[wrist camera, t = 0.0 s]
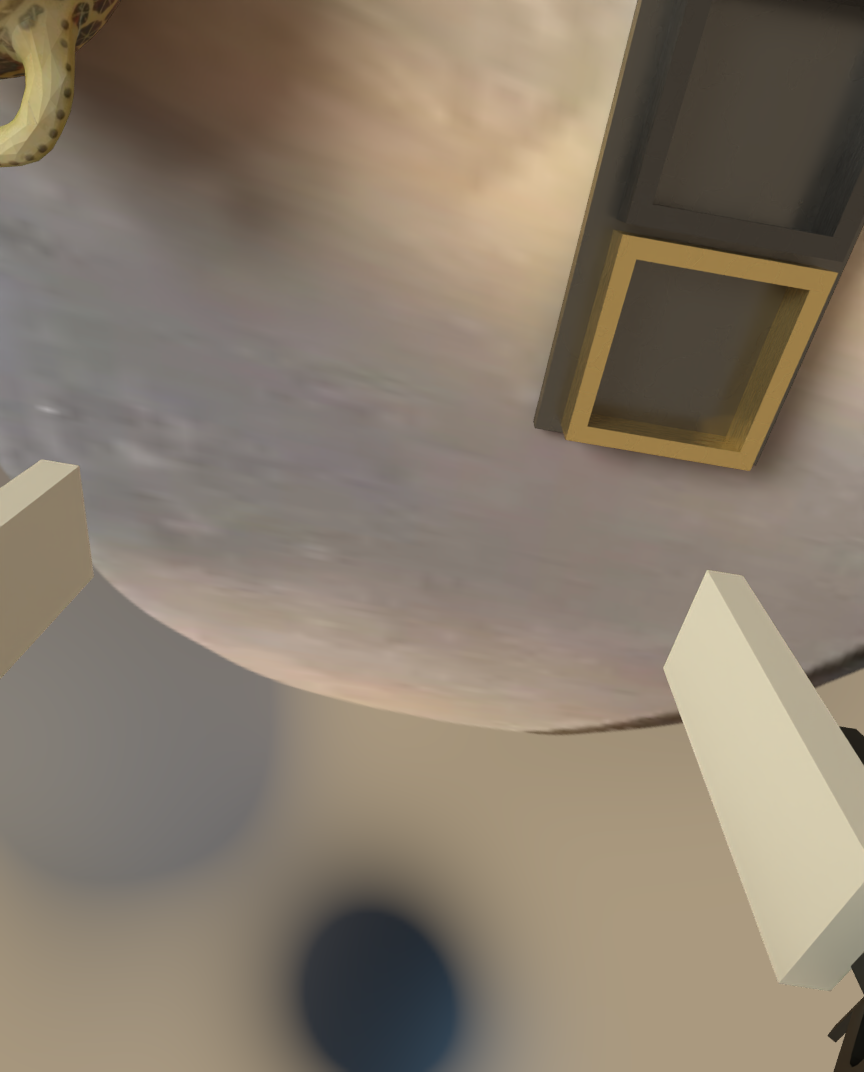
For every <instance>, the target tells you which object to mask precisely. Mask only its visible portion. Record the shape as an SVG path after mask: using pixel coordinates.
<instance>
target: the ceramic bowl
mask: <svg viewBox="0 0 864 1072" xmlns="http://www.w3.org/2000/svg"><path fill="white" fill-rule="evenodd" d="M119 2H120V0H0V79H7V78H15V77H20V76H25V82H26V88H25V91H24V95H23V99H22V103H21V107H20V109H19V111H18V113H17V115H16V117H15V118H14V120H12V121H11V122H10V123H9V124H6V125H4V126H1V127H0V167H12V166H23V165H26V164H29V163H33V162H36V161H39V160H40V159H42V158H43V157H44V156H45V155H46V154H48V153H49V152H50V151H51V150H52V149H53V147H54V146H55V144H56V142H57V140H58V139H59V137H60V135H61V133H62V131H63V129H64V126H65V124H66V122H67V119H68V117H69V115H70V112H71V106H72V101H73V96H74V75H75V52H76V51H78V50H79V49H80V48H81V47H82V46H83V45H84V44H86V43H87V42H88V41H89V40H90V39H91V38H92V37H93V36H94V35H95V34H96V33H97V32H98V31H99V30H100V29H101V28H102V26H103V25H104V24H105V23H106V22H107V20H108V19H109V18H110V16H111V15H112V13H113V12H114V10H115V9H116V7H117V5H118V4H119Z"/></svg>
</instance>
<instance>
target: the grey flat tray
mask: <svg viewBox="0 0 864 1072" xmlns="http://www.w3.org/2000/svg"><path fill="white" fill-rule="evenodd" d="M863 225H864V0H638V1H637V5H636V9H635V13H634V17H633V21H632V25H631V29H630V33H629V37H628V41H627V45H626V49H625V54H624V58H623V62H622V66H621V70H620V74H619V78H618V82H617V86H616V90H615V94H614V98H613V102H612V106H611V110H610V114H609V118H608V122H607V126H606V130H605V134H604V138H603V142H602V146H601V150H600V154H599V158H598V162H597V167H596V171H595V175H594V179H593V183H592V187H591V191H590V195H589V199H588V203H587V207H586V211H585V215H584V219H583V223H582V227H581V231H580V235H579V239H578V243H577V247H576V251H575V255H574V259H573V263H572V267H571V271H570V275H569V279H568V284H567V288H566V292H565V296H564V300H563V304H562V308H561V312H560V316H559V320H558V324H557V328H556V332H555V336H554V340H553V344H552V348H551V352H550V356H549V360H548V364H547V368H546V372H545V376H544V380H543V384H542V388H541V392H540V397H539V401H538V405H537V409H536V413H535V417H534V421H533V422H534V426H535V428H538V429H543V430H549V431H555V432H561V433H564V436H565V439H566V440H570V441H576V442H582V443H588V444H593V445H599V446H605V447H611V448H617V449H623V450H629V451H635V452H641V453H646V454H652V455H658V456H664V457H670V458H676V459H682V460H688V461H694V462H699V463H705V464H711V465H717V466H723V467H729V468H735V469H741V470H747V471H750V470H751V468H752V466H753V465H755V466H756V464H757V462H758V459H759V457H760V455H761V453H762V450H763V448H764V446H765V444H766V442H767V439H768V437H769V435H770V433H771V430H772V428H773V426H774V424H775V421H776V419H777V417H778V415H779V413H780V410H781V408H782V406H783V404H784V401H785V399H786V397H787V395H788V392H789V390H790V388H791V386H792V384H793V381H794V379H795V377H796V375H797V372H798V370H799V368H800V366H801V363H802V361H803V359H804V357H805V354H806V352H807V350H808V348H809V346H810V343H811V341H812V339H813V337H814V334H815V332H816V330H817V328H818V325H819V323H820V321H821V319H822V317H823V314H824V312H825V310H826V308H827V305H828V303H829V301H830V299H831V296H832V294H833V292H834V290H835V288H836V285H837V283H838V281H839V279H840V276H841V274H842V272H843V270H844V267H845V265H846V263H847V261H848V259H849V256H850V254H851V252H852V250H853V247H854V245H855V243H856V241H857V238H858V236H859V234H860V232H861V230H862V227H863Z"/></svg>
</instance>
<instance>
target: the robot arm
mask: <svg viewBox="0 0 864 1072" xmlns="http://www.w3.org/2000/svg"><path fill="white" fill-rule="evenodd" d="M93 577H94V575H93V567H92V559H91V552H90V544H89V537H88V529H87V522H86V514H85V506H84V499H83V491H82V484H81V476H80V468H79V466H77V465H71V464H65V463H59V462H53V461H47V460H40V461H39V462H37V463H36V464H34V465H33V466H31V467H30V468H29V469H27V470H26V471H24V472H23V473H21V474H20V475H19V476H17V477H16V478H14V479H13V480H11V481H10V482H9V483H7V484H6V485H4V486H3V487H1V488H0V679H1V678H2V677H3V676H4V674H5V673H6V672H7V671H8V670H9V669H10V668H11V667H12V666H13V664H14V663H15V662H16V661H17V660H18V659H19V658H20V657H21V656H22V655H23V654H24V653H25V651H26V650H27V649H28V648H29V647H30V646H31V645H32V644H33V643H34V642H35V640H36V639H37V638H38V637H39V636H40V635H41V634H42V633H43V632H44V630H45V629H46V628H47V627H48V626H49V625H50V624H51V623H52V622H53V621H54V620H55V618H56V617H57V616H58V615H59V614H60V613H61V612H62V611H63V610H64V609H65V608H66V606H67V605H68V604H69V603H70V602H71V601H72V600H73V599H74V598H75V596H76V595H77V594H78V593H79V592H80V591H81V590H82V589H83V588H84V587H85V586H86V585H87V583H88V582H89V581H90V580H91V579H92V578H93ZM663 669H664V672H665V674H666V677H667V680H668V683H669V685H670V688H671V691H672V694H673V696H674V699H675V702H676V704H677V707H678V710H679V713H680V715H681V718H682V721H683V724H684V726H685V729H686V732H687V735H688V737H689V740H690V742H691V745H692V748H693V751H694V754H695V756H696V759H697V762H698V765H699V767H700V770H701V773H702V776H703V778H704V781H705V784H706V786H707V789H708V792H709V794H710V797H711V800H712V803H713V805H714V808H715V811H716V814H717V816H718V819H719V822H720V824H721V827H722V830H723V833H724V836H725V838H726V841H727V844H728V847H729V849H730V852H731V854H732V857H733V860H734V863H735V865H736V868H737V871H738V874H739V877H740V879H741V882H742V884H743V887H744V890H745V893H746V896H747V898H748V901H749V904H750V907H751V909H752V912H753V915H754V918H755V920H756V923H757V926H758V928H759V931H760V934H761V937H762V939H763V942H764V945H765V948H766V950H767V953H768V956H769V958H770V961H771V964H772V966H773V969H774V972H775V975H776V978H777V980H778V983H779V984H785V985H792V986H799V987H805V988H812V989H819V990H827V991H831V990H832V989H833V988H834V987H835V986H836V985H837V984H838V983H839V982H840V981H841V980H842V979H843V977H844V976H845V975H846V974H847V973H848V972H849V971H850V970H851V969H852V970H853V972H854V974H855V977H856V979H857V981H858V983H859V985H860V987H861V990H862V991H863V994H864V736H863V735H862V734H861V733H860V732H859V731H857V730H856V729H852V728H846V727H839V726H838V724H837V723H836V721H835V720H834V718H833V717H832V715H831V713H830V712H829V710H828V709H827V707H826V706H825V704H824V702H823V701H822V699H821V698H820V696H819V695H818V693H817V691H816V690H815V688H814V687H813V685H812V684H811V682H810V680H809V679H808V677H807V676H806V674H805V673H804V671H803V669H802V668H801V666H800V665H799V663H798V662H797V660H796V658H795V657H794V655H793V654H792V652H791V651H790V649H789V647H788V646H787V644H786V643H785V641H784V640H783V638H782V636H781V635H780V633H779V632H778V630H777V629H776V627H775V625H774V624H773V622H772V621H771V619H770V618H769V616H768V614H767V613H766V611H765V610H764V608H763V607H762V605H761V603H760V602H759V600H758V599H757V597H756V596H755V594H754V593H753V591H752V589H751V588H750V586H749V585H748V583H747V582H746V580H745V578H744V577H743V576H741V575H735V574H729V573H723V572H717V571H711V570H707V572H706V574H705V576H704V578H703V580H702V583H701V585H700V587H699V589H698V592H697V594H696V596H695V598H694V601H693V603H692V605H691V607H690V610H689V612H688V614H687V616H686V618H685V621H684V623H683V625H682V627H681V630H680V632H679V634H678V636H677V639H676V641H675V643H674V645H673V648H672V650H671V652H670V654H669V656H668V659H667V661H666V663H665V665H664V668H663ZM845 1033H846V1034H845ZM844 1034H845V1037H844V1040H843V1044H842V1047H841V1050H840V1053H839V1056H838V1059H837V1062H836V1066H835V1069H834V1072H864V997H863V998H862V999H861V1000H860V1001H859V1002H858V1003H857V1004H856V1005H855V1006H854V1007H853V1008H852V1009H851V1010H850V1011H849V1012H848V1013H847V1014H846V1015H845V1016H844V1017H843V1018H842V1019H841V1020H840V1021H839V1022H838V1023H837V1024H836V1025H835V1027H834V1028H833V1029H832V1030H831V1032H830V1033H829V1034H828V1037H830V1038H831V1039H832V1040H833V1041H835V1042H837V1040H839V1039H840V1038H841V1037H842V1036H843V1035H844Z"/></svg>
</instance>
